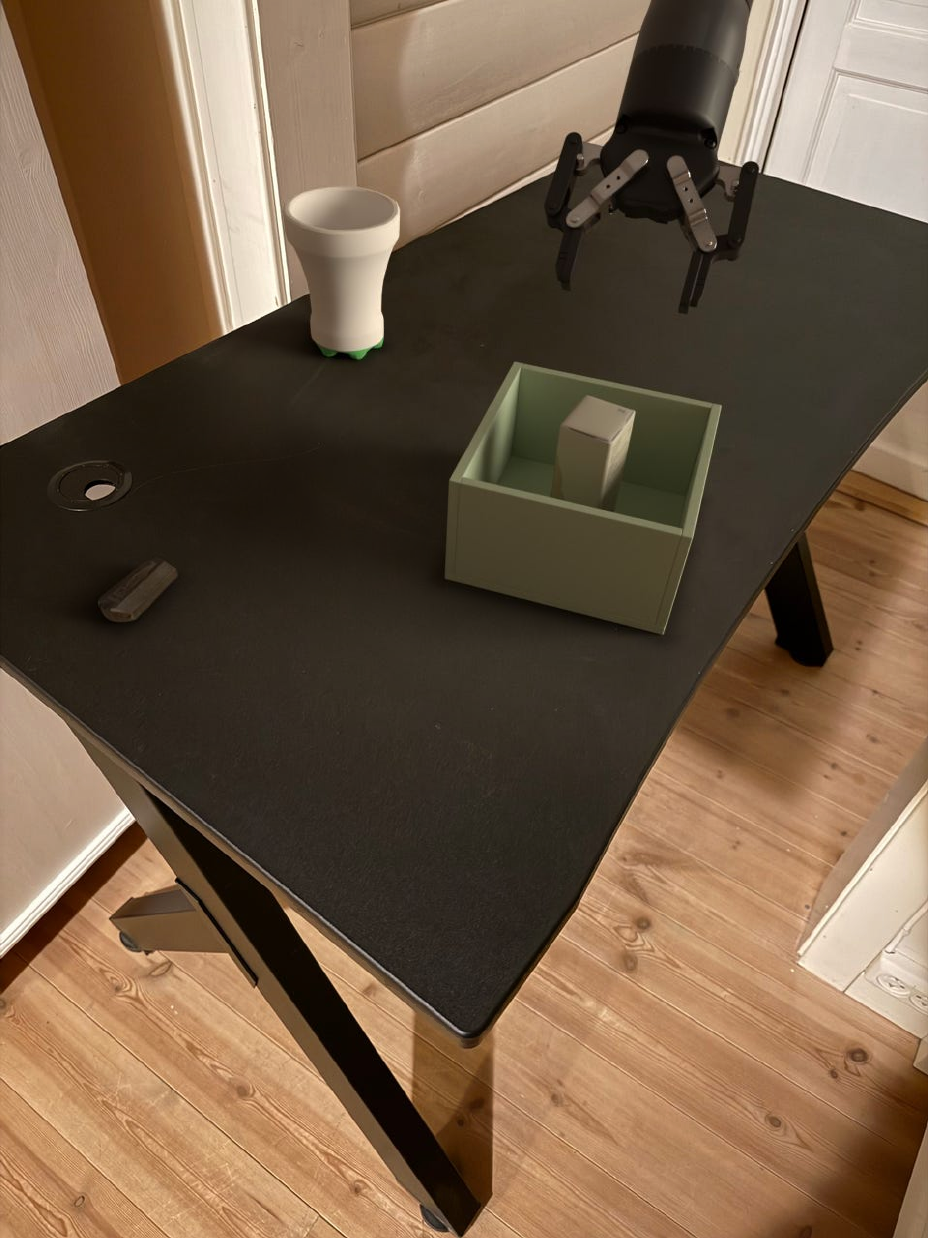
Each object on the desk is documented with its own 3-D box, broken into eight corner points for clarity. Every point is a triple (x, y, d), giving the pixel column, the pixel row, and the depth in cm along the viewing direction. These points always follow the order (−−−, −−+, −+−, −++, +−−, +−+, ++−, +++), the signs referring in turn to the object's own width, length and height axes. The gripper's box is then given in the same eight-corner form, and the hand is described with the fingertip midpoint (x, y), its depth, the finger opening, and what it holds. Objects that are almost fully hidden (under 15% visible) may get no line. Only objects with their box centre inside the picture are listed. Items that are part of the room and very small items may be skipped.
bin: (694, 499, 81) (722, 404, 74) (663, 635, 69) (692, 538, 62) (504, 456, 84) (514, 361, 77) (444, 579, 72) (448, 480, 65)
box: (568, 503, 78) (587, 391, 70) (614, 520, 77) (639, 408, 69) (542, 536, 75) (558, 423, 67) (589, 555, 74) (612, 442, 66)
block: (182, 582, 70) (178, 564, 69) (129, 631, 67) (124, 613, 65) (146, 566, 71) (141, 548, 70) (91, 613, 68) (85, 596, 66)
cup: (421, 340, 98) (424, 206, 87) (353, 383, 91) (347, 243, 81) (342, 307, 102) (336, 175, 92) (272, 345, 95) (257, 208, 85)
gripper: (582, 25, 62) (522, 259, 62) (794, 55, 59) (730, 299, 60) (587, 89, 69) (533, 298, 70) (776, 118, 66) (718, 335, 67)
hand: (624, 298), depth 65 cm, fingers open, 8 cm apart
